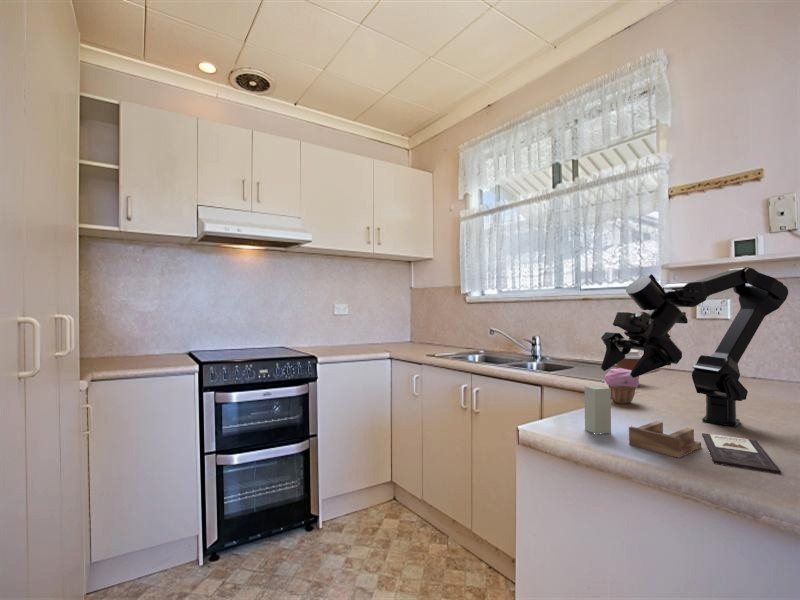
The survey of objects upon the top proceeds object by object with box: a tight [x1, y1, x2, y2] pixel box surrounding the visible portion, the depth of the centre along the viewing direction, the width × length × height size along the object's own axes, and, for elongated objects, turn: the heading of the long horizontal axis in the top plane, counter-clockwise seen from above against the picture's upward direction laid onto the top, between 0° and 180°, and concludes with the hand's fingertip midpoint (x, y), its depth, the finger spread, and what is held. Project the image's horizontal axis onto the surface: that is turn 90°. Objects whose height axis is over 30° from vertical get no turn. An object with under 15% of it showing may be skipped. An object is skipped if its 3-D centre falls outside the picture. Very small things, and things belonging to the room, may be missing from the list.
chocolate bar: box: [701, 432, 782, 475], centre depth 78 cm, size 9×1×18 cm
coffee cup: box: [615, 349, 643, 380], centre depth 145 cm, size 9×9×12 cm
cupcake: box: [604, 368, 640, 405], centre depth 118 cm, size 9×9×10 cm
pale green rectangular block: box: [584, 385, 612, 435], centre depth 91 cm, size 4×4×10 cm
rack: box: [628, 420, 702, 459], centre depth 81 cm, size 10×9×4 cm
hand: (616, 372), depth 92 cm, fingers open, 9 cm apart
